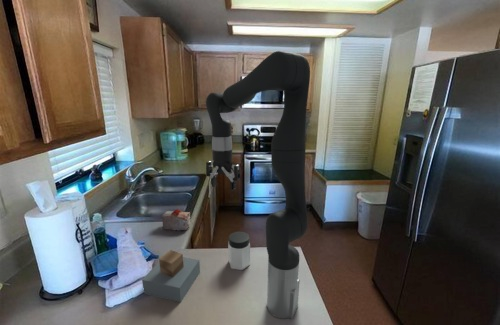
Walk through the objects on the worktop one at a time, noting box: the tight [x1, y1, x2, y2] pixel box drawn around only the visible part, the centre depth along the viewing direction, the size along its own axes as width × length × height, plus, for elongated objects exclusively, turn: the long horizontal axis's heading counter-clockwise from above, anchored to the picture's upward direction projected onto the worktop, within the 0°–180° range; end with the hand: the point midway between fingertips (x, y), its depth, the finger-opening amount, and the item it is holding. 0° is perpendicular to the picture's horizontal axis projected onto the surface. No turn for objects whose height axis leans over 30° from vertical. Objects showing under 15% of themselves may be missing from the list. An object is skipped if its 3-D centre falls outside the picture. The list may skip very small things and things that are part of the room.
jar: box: [227, 231, 251, 271], centre depth 93 cm, size 9×8×12 cm
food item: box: [161, 208, 191, 231], centre depth 120 cm, size 14×8×10 cm, turn 85°
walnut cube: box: [158, 249, 184, 277], centre depth 82 cm, size 6×6×6 cm
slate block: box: [141, 256, 201, 303], centre depth 84 cm, size 14×14×6 cm
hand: (223, 188), depth 92 cm, fingers open, 8 cm apart
